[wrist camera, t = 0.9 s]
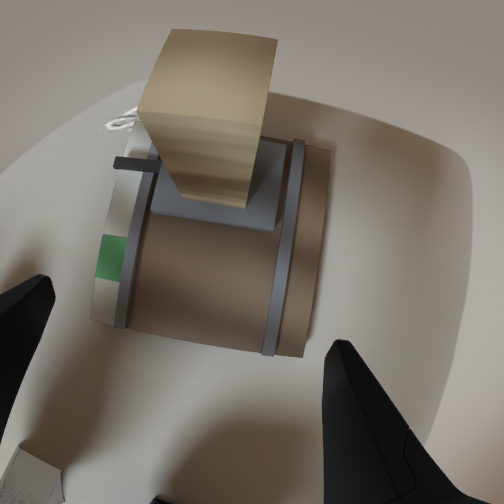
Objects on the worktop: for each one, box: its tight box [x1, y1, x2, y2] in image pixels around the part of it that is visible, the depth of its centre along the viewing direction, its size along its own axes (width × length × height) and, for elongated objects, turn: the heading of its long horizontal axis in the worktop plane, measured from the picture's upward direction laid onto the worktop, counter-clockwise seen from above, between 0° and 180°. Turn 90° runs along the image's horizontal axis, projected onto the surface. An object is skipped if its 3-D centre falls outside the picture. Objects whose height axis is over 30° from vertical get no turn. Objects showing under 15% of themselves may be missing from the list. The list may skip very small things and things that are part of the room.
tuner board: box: [90, 120, 331, 358], centre depth 21 cm, size 15×15×2 cm
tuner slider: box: [113, 29, 286, 232], centre depth 14 cm, size 6×12×12 cm, turn 81°
